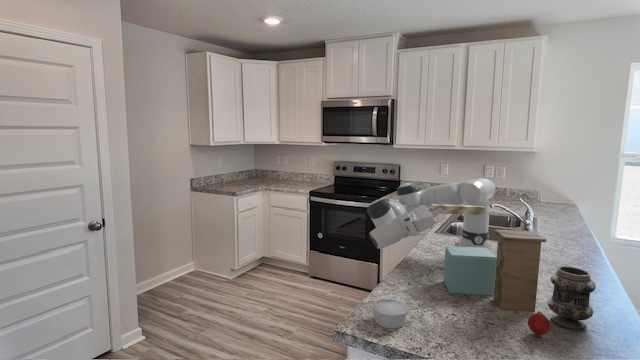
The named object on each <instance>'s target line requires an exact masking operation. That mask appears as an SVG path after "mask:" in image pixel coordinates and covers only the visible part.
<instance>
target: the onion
mask: <svg viewBox="0 0 640 360" xmlns="http://www.w3.org/2000/svg"><path fill="white" fill-rule="evenodd" d="M528 317H529V318H527V319H528V320H527V327H528V328H529V330H530V331H531V333H533V334H534V335H535V337H542V336H545V335H547V334H548V333H549V332H550V330H551V324H550V323H551V321H549V318H547V317H546V315H544V313H543V312H542V311H540V310H538V311H537V312H534V313H532V314H531V315H530V316H528Z"/></svg>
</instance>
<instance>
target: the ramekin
mask: <svg viewBox="0 0 640 360" xmlns="http://www.w3.org/2000/svg"><path fill="white" fill-rule="evenodd" d="M372 311H373V318H374V321H375V323H376V324H377V325H378V326H380V327H382V328H385V329H391V330H395V329H399V328H401V327H403V326H404V325H405V323H406V318H407V315H408V312H409V310H408V306H407V305H406V304H405V303H403V302H401V301H400V300H396V299H391V298H382V299H378V300H376V301H374V302H373V304H372Z"/></svg>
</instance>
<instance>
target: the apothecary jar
mask: <svg viewBox="0 0 640 360" xmlns="http://www.w3.org/2000/svg"><path fill="white" fill-rule="evenodd" d="M550 282H551V284H553V291H552V296H550V297H549V298H548V299H547V301H546V303H547V306H548V308H549V310H550V311H551V312H553V313H554V314H555V315H552V316H551V317H550V318H549V319H550V321H549V322H550V323H552V324H553V325H554V326H556V327H557V328H560V329H562V330H565V331H568V332H576V333H577V332H578V333H580V332H586V331H587V329H588V327H587V324H586V323H584V322H583V321H587V320H588V319H591V318H592V317H593V315H594V310H593V308H592V305H590V296H591V293H593V292H594V291H595V290H596V288H597V287H596V283H595V282H594V281H593V280H592V278H591V273H590V272H589V271H587V270H585V269H583V268H579V267H575V266H570V265H569V266H568V265H561V266H558V267H557V271H555V272H554V273H552V274H551V275H550Z"/></svg>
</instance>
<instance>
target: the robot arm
mask: <svg viewBox="0 0 640 360" xmlns="http://www.w3.org/2000/svg"><path fill="white" fill-rule="evenodd" d="M495 192H496V185H495V183H494V182H493V180H490V179H487V178H484V177H483V178H482V177H480V178H474V179H469V180H463V181H457V182H453V183H447V184H441V185H434V186H431V187H430V186H429V187H427V188H425V189H422V188H421V187H420V186H418V185H417V184H415V183H413V182H411V183H410V182H405V183H402V184H400V185H399V186H398V187H397V189H396V195H397V198H398V200H391V199H390V198H379V199H376V200H374V201H372V202H371V203H370V204H369V205H368V206H367V210H366V211H367V215H368V216H369V218H370V219H371V220H372V222H373V224H374V226H375V228H374V229H372V230H370V232H369V238H370V240H371V241H372V244H374V246H375V248H376V249H377V250H378V249H383V248H387V247H389V246H391V245H394V244H396V243H398V242H400V241H402V239H406V238H408V237H417V236H419V235H420V233H422V232H425V231H426V230H428V229H430V228H432V227H433V226H435V225H436V223H437V221H436V219H435V218H437V216H438V215H440V214H442V213H441V212H443V209H442V208H441V207H439V208H437V209H436V210H434V211H432V204H447V205H475V206H484V207H485V215H468V214H463V226H462V230H461V234H460V235H461V236H460V237H459V238H458V239H457V241H454V246H457V247H478V248H487V249H488V250H490V251H491V252H492V243H491V242H490V241H489V238H490V231H489V222H490V215H489V211H488V205H487V202H488V200H490V199H491V198H492V197H493V196H494V194H495Z"/></svg>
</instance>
